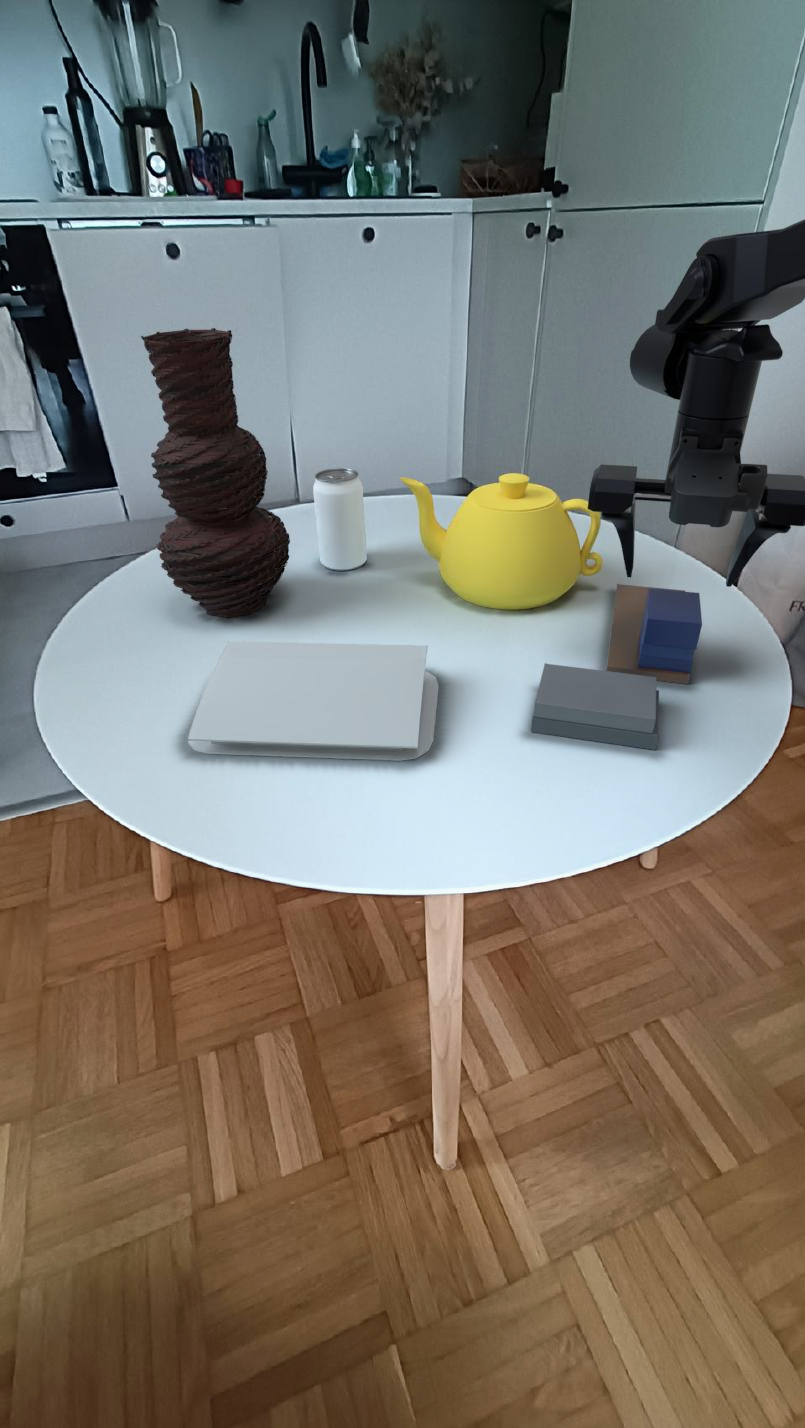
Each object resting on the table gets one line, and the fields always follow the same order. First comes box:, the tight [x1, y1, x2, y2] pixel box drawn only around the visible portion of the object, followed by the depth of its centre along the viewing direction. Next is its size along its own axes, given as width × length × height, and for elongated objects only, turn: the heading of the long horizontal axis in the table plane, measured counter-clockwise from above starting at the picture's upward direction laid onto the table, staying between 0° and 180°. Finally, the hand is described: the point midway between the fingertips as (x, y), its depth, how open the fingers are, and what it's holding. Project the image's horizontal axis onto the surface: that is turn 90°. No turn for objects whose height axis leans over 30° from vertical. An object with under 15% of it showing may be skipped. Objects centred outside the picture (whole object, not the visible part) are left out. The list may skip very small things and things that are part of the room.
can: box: [312, 467, 368, 572], centre depth 96 cm, size 6×6×12 cm
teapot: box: [399, 472, 604, 611], centre depth 88 cm, size 25×18×14 cm
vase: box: [140, 327, 291, 619], centre depth 81 cm, size 15×15×30 cm
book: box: [187, 640, 440, 762], centre depth 69 cm, size 15×23×4 cm, turn 85°
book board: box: [605, 583, 691, 685], centre depth 80 cm, size 8×20×1 cm, turn 163°
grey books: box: [530, 663, 660, 751], centre depth 67 cm, size 11×8×3 cm
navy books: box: [638, 615, 695, 674], centre depth 74 cm, size 7×5×3 cm
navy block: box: [643, 588, 703, 650], centre depth 72 cm, size 7×5×3 cm
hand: (677, 580), depth 70 cm, fingers open, 9 cm apart
